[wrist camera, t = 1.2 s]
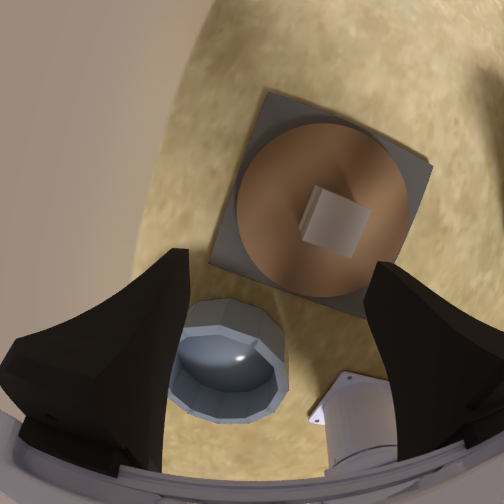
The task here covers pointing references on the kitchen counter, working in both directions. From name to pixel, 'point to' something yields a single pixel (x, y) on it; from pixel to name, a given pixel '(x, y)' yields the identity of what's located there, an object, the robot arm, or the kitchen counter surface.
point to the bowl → (229, 363)
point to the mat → (267, 128)
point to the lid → (322, 209)
